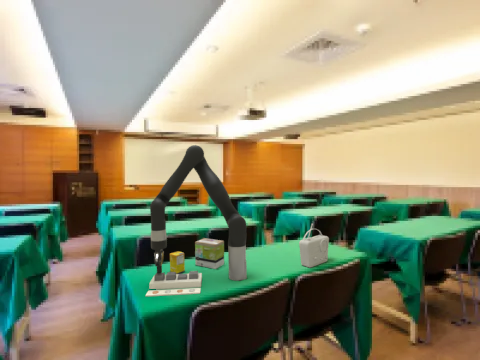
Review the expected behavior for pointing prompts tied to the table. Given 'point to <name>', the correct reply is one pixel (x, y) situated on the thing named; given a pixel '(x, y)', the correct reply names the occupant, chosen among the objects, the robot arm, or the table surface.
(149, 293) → the pattern card
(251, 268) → the table surface
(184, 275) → the button
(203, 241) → the tea box
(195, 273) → the button
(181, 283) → the button board
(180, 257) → the supplement box
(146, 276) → the table surface
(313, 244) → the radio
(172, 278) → the button
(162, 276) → the button
